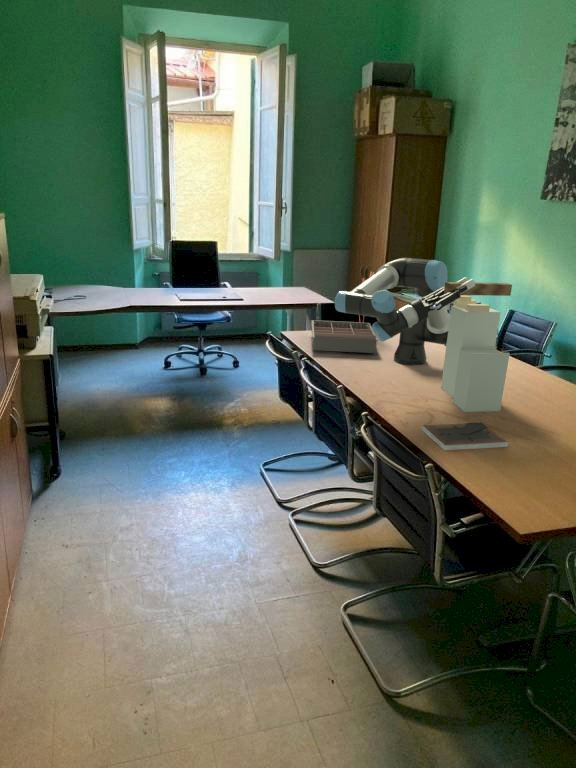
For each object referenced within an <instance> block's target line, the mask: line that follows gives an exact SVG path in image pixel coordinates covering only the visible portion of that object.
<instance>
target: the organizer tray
mask: <svg viewBox="0 0 576 768" xmlns="http://www.w3.org/2000/svg"><path fill="white" fill-rule="evenodd" d="M310 321H311V339H312V340H311V341H312V351H322V352H323V351H326V352H336V353H337V354H338V352H344V353H345V352H348V353H365V354H366V353H369V354H377V342H379V339H378V338H377V337H376V335H375V333H374V331H373V329H372V325H371V323H370V322H364V323H363V322H361V321H358V322H357V321H356V322H355V321H341V320H340V321H335V320H318V319H317V320H314V319H313V320H312V319H311V320H310Z"/></svg>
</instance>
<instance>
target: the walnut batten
mask: <svg viewBox="0 0 576 768" xmlns="http://www.w3.org/2000/svg"><path fill="white" fill-rule="evenodd" d="M463 283H465V282H457V281H455V282H454V281H447V282H445V288H444V293H445V294H446V293H448V292H451V291H453V290H455V289H456V287H458V286H460V285H462V284H463ZM474 283H475V286H474V287H472V288H470V289H469V290H467V291H465V292H463V293H462V294H460V295H464V296H490V297H491V296H492V297H493V296H499V297H502V296H506V297H507V296H508V297H511V295H512V290H513V284H512V283H507V282H474Z"/></svg>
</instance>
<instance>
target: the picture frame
mask: <svg viewBox="0 0 576 768" xmlns="http://www.w3.org/2000/svg"><path fill="white" fill-rule="evenodd" d="M421 430H422V431H423V432H424V433H425V434H426V435H427V436H428V437H429V438H430V439H431V440H433V441H434V442H435V443H436V444H437V445H438V446H439V447H440V448H441V449H442V450H444V451H455V450H458V451H459V450H472V449H473V450H474V449H489V448H493V449H494V448H507V447H508V445H509V441H507V440H506V439H504V438H503V437H502V436H500V435H499V434H498V433H496V432H494V430H492V429H490V428H489V427H488V426H487V425H486V424H484V423H483V422H482V421H480V422H479V421H477V422H464V423H446V424H445V423H442V424H441V423H439V424H423V425H421Z"/></svg>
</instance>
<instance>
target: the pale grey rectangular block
mask: <svg viewBox="0 0 576 768" xmlns="http://www.w3.org/2000/svg"><path fill="white" fill-rule="evenodd" d="M510 354H511V353H510V352H501V351H500V350H498V349H497V346H496V345H495V346H476V347H460V353H459V360H458V367H457V374H456V382H455V389H454V396H453V397H452V404H454V405H455V406H456V407H458V408H459V409H460V410H462V411H463V412H464V413H477V412H480V413H481V412H500V411H501V406H502V402H503V401H502V400H503V395H504V391H505V390H504V389H505V383H506V377H507V372H508V365H509V359H510Z"/></svg>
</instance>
